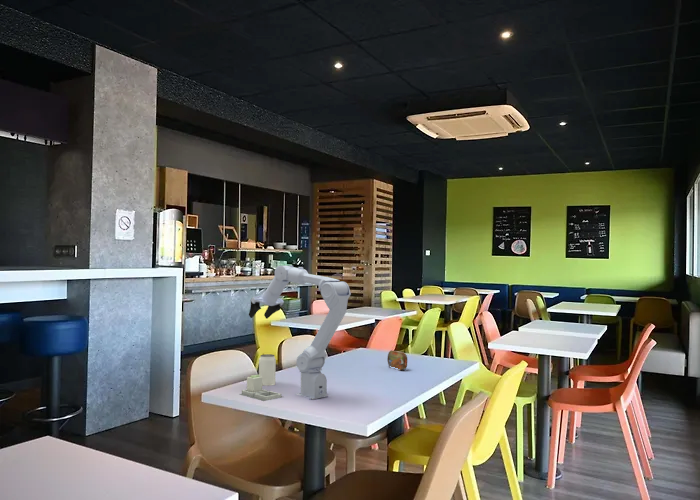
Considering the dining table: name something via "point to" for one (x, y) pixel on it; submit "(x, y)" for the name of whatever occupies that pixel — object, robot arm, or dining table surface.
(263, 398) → the grey divided tray
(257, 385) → the plug
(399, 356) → the tin
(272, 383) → the can
